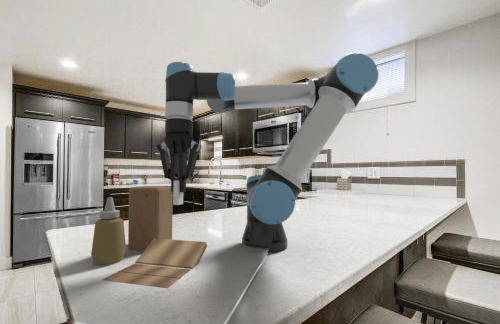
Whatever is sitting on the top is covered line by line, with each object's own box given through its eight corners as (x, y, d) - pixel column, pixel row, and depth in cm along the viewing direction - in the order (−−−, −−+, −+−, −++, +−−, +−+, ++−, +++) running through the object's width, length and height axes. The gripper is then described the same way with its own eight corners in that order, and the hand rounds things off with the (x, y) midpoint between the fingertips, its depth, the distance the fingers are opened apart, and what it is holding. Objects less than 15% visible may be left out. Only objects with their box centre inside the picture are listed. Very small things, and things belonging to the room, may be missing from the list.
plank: (207, 246, 70) (205, 242, 69) (193, 273, 62) (192, 268, 62) (155, 242, 74) (154, 238, 73) (136, 267, 66) (134, 262, 66)
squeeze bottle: (100, 261, 71) (101, 196, 72) (130, 260, 72) (131, 195, 73) (84, 272, 63) (85, 199, 64) (118, 271, 64) (119, 198, 65)
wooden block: (156, 255, 76) (157, 187, 76) (126, 253, 78) (127, 187, 78) (173, 246, 85) (173, 185, 86) (146, 244, 87) (146, 185, 88)
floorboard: (191, 275, 61) (191, 269, 61) (167, 295, 51) (167, 287, 51) (133, 269, 65) (133, 263, 65) (101, 286, 55) (101, 279, 55)
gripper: (206, 121, 74) (205, 203, 73) (166, 123, 78) (165, 202, 77) (194, 115, 67) (193, 207, 66) (150, 118, 70) (149, 205, 69)
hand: (178, 204), depth 71 cm, fingers closed
